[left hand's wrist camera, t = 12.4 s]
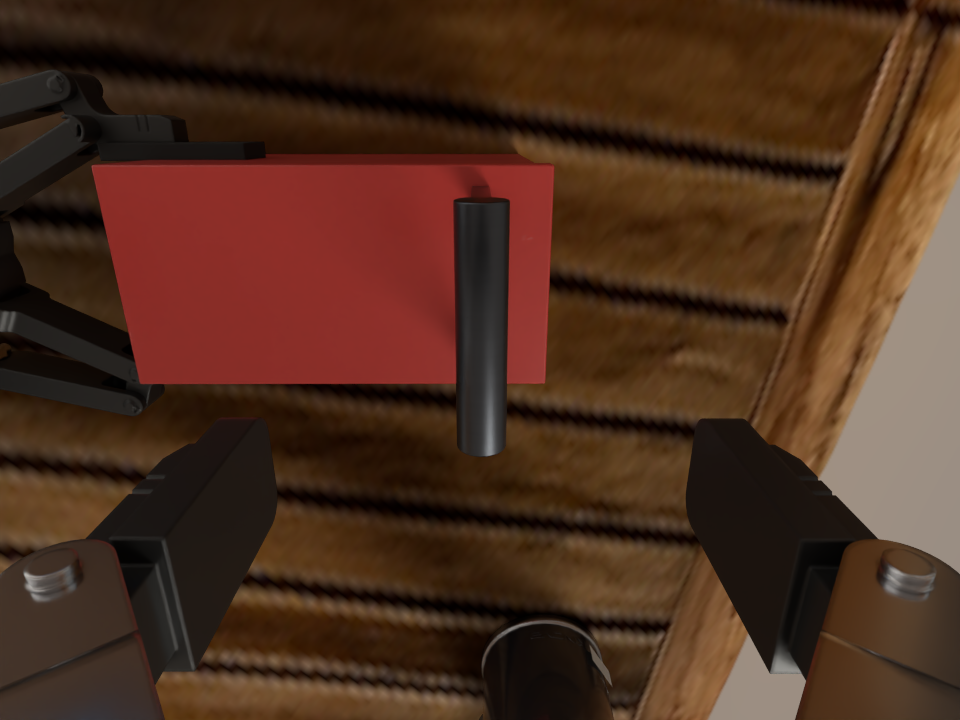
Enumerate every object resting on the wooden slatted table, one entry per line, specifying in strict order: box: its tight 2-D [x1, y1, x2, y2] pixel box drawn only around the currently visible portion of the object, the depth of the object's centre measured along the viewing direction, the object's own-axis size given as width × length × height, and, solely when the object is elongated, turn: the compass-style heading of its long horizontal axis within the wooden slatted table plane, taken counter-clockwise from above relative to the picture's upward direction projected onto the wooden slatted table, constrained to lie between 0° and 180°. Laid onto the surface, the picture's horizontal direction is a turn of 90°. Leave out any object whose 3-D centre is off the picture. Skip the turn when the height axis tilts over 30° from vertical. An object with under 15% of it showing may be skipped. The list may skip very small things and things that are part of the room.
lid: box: [92, 163, 554, 457], centre depth 21 cm, size 18×9×8 cm, turn 90°
